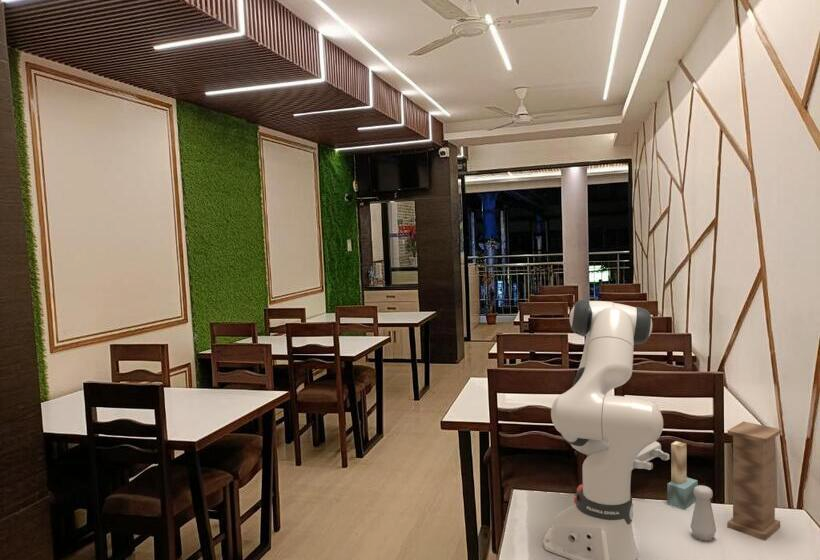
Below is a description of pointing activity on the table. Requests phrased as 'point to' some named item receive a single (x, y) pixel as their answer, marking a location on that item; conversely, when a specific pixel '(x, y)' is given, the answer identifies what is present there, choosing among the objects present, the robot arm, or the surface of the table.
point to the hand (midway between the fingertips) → (660, 462)
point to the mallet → (680, 479)
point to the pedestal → (754, 480)
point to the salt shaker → (703, 514)
